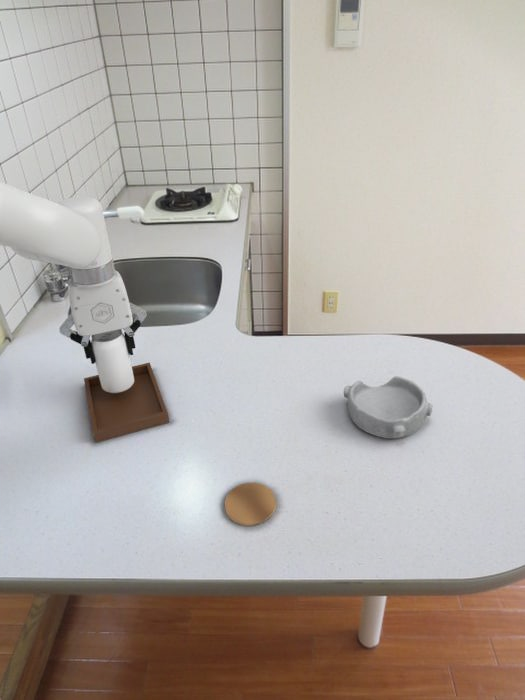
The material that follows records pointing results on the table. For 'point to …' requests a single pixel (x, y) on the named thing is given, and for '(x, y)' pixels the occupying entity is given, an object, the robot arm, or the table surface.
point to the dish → (388, 407)
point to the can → (112, 361)
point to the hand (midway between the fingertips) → (111, 355)
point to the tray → (126, 405)
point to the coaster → (250, 504)
